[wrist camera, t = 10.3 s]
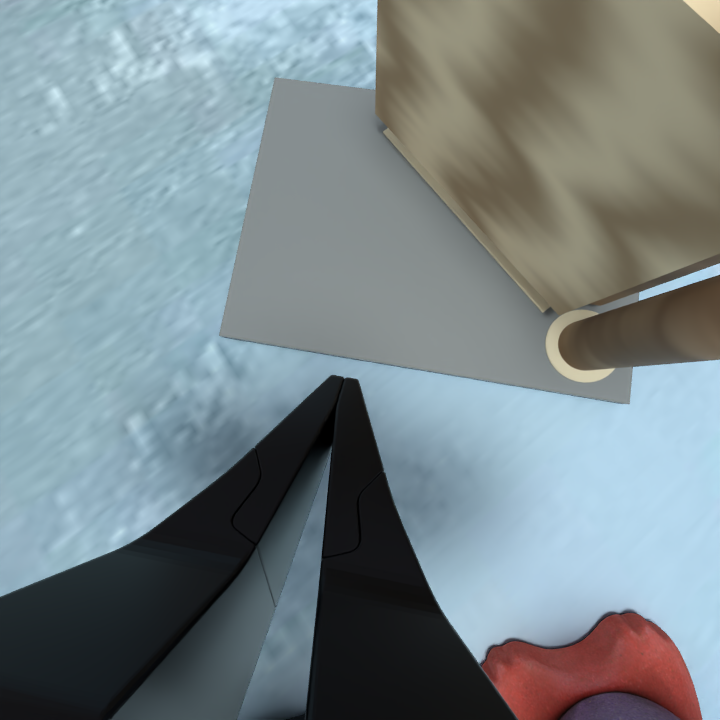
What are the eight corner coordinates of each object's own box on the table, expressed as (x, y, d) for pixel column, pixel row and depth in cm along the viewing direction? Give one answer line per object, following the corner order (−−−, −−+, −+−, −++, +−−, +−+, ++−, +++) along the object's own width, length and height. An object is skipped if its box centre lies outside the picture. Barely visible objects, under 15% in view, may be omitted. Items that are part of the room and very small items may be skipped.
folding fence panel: (574, 302, 17) (931, 152, 6) (559, 315, 17) (890, 187, 6) (390, 101, 18) (419, -296, 8) (375, 113, 18) (383, -271, 8)
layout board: (620, 403, 18) (630, 404, 17) (223, 337, 19) (218, 335, 19) (645, 132, 20) (655, 123, 19) (277, 86, 21) (274, 75, 20)
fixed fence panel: (605, 374, 18) (1286, 333, 5) (554, 366, 18) (1073, 302, 5) (622, 201, 19) (1221, -242, 6) (573, 195, 19) (1046, -254, 6)
